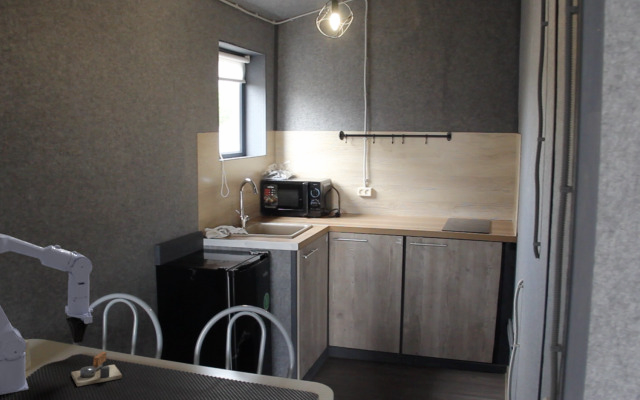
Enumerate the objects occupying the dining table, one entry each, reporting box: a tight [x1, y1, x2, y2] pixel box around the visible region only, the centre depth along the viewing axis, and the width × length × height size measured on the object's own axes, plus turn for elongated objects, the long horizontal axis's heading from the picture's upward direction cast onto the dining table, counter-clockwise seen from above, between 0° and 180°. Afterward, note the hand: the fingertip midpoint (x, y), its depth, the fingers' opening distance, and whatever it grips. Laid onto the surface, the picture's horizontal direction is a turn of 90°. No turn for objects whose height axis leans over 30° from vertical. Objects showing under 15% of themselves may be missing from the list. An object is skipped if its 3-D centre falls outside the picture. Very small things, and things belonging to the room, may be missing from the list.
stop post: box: [100, 365, 109, 378], centre depth 153 cm, size 2×2×3 cm
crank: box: [79, 351, 107, 378], centre depth 157 cm, size 12×4×3 cm, turn 175°
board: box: [70, 364, 123, 387], centre depth 156 cm, size 12×9×1 cm
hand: (77, 342), depth 156 cm, fingers closed
